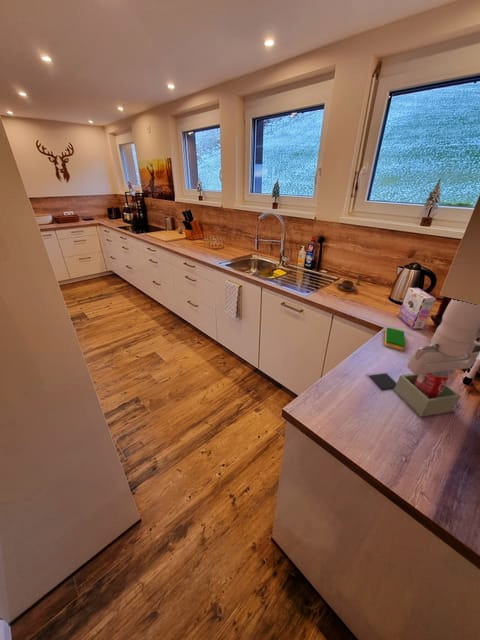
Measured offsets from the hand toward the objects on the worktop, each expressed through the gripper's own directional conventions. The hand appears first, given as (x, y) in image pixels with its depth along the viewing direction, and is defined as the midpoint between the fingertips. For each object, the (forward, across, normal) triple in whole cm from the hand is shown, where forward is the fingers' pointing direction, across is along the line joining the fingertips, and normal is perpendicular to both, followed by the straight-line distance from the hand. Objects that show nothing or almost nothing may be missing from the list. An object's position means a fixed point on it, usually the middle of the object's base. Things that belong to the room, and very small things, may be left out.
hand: (431, 379), depth 82 cm
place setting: (+9, +33, +93) cm, 99 cm away
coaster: (+9, -6, +10) cm, 15 cm away
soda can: (+8, 0, 0) cm, 8 cm away
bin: (+9, 0, 0) cm, 9 cm away
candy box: (+9, +37, +47) cm, 60 cm away
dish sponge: (+9, +16, +33) cm, 38 cm away
